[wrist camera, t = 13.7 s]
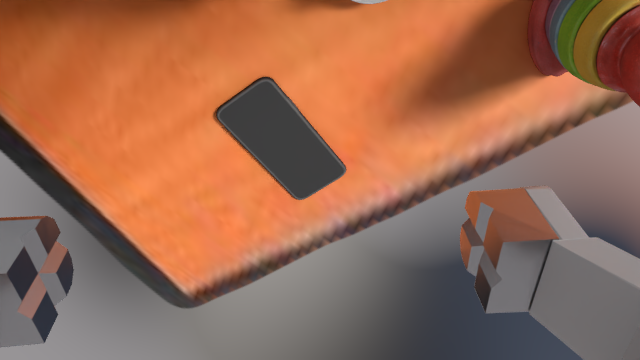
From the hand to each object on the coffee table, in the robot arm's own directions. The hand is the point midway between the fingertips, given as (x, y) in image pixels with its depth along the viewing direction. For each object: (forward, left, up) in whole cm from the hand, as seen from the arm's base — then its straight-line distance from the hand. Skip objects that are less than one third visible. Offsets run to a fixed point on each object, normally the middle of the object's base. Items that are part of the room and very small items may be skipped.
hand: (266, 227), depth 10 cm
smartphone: (+1, +21, -40) cm, 45 cm away
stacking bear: (-28, +8, -39) cm, 49 cm away
